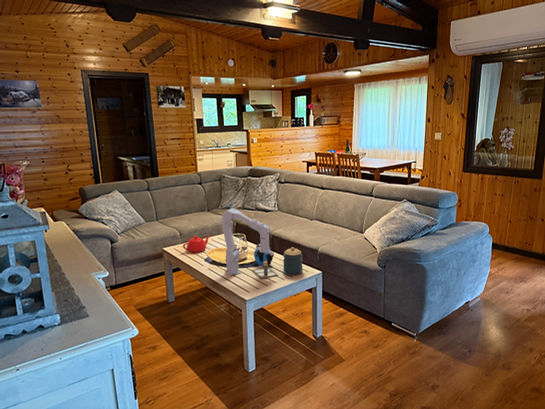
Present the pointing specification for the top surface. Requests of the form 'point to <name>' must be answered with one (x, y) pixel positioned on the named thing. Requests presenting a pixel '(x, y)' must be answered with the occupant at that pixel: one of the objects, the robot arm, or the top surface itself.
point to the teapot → (196, 244)
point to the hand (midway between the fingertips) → (265, 263)
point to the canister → (292, 261)
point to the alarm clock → (258, 257)
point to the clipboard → (261, 273)
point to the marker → (265, 268)
